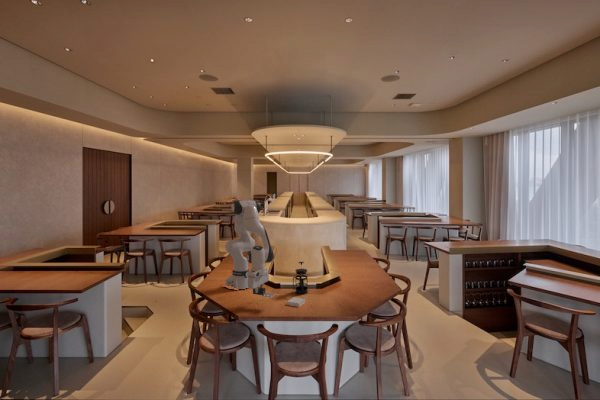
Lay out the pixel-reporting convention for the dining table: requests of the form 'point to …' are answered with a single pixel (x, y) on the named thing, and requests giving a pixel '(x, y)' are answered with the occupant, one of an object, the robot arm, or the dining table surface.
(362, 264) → the dining table surface
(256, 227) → the robot arm
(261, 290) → the turner
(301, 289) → the french press
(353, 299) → the dining table surface
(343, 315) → the dining table surface
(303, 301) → the tile
